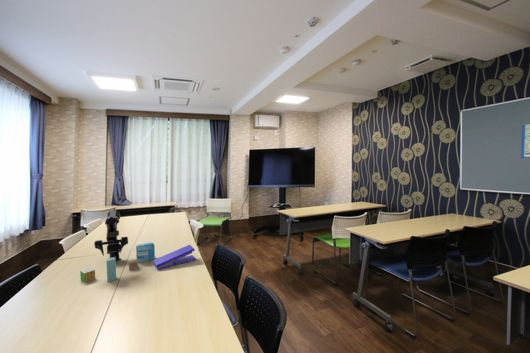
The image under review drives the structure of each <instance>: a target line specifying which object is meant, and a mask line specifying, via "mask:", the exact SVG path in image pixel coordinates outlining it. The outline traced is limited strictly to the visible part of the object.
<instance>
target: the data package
mask: <svg viewBox="0 0 530 353" xmlns="http://www.w3.org/2000/svg"><path fill="white" fill-rule="evenodd" d="M135 247H136V248H135V250H136V252H135V254H136V259H137V263H142V262H148V261H149V262H150V261H153V260H155V259H156V251H155V243H154V242H147V243H145V242H144V243H140V244H139V243H138V244H137V245H136V246H135Z"/></svg>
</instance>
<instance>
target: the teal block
mask: <svg viewBox="0 0 530 353" xmlns="http://www.w3.org/2000/svg"><path fill="white" fill-rule="evenodd" d="M106 278H107V282H113V281H116V280H117V261H116V257H112V258H110V257H107V258H106Z"/></svg>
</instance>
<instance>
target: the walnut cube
mask: <svg viewBox="0 0 530 353" xmlns="http://www.w3.org/2000/svg"><path fill="white" fill-rule="evenodd" d="M128 268H129V271H132V270H137V269H138V268H139V267H138V262H137V258H136V259H130V260H128Z"/></svg>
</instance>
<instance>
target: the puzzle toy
mask: <svg viewBox="0 0 530 353" xmlns="http://www.w3.org/2000/svg"><path fill="white" fill-rule="evenodd" d="M79 272H80V274H79V275H80V281H82V282H83V283H87V282H91V281H92V280H95V279H96V270H95V269H94V268H92V267H89V268H85V269H83V270H80V271H79Z"/></svg>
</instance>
